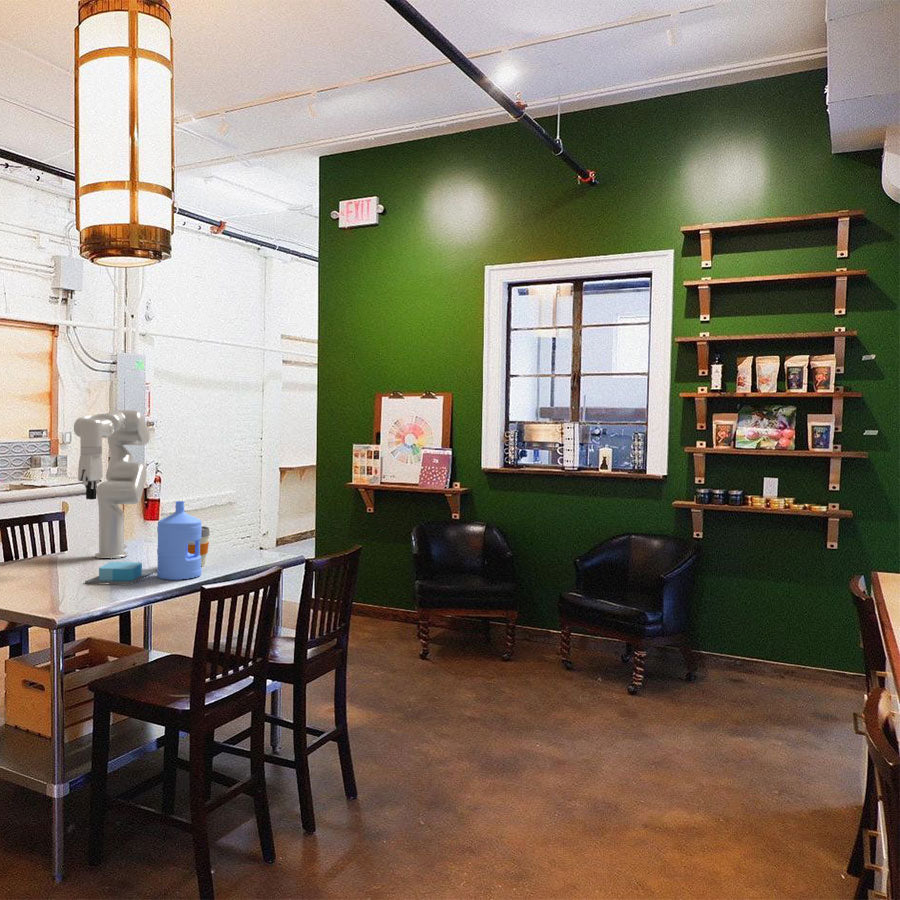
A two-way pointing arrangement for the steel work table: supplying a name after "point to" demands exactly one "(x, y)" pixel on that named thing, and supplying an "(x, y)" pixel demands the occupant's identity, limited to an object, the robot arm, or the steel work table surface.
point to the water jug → (178, 545)
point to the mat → (144, 574)
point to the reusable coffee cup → (201, 545)
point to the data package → (120, 571)
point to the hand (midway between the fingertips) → (91, 499)
